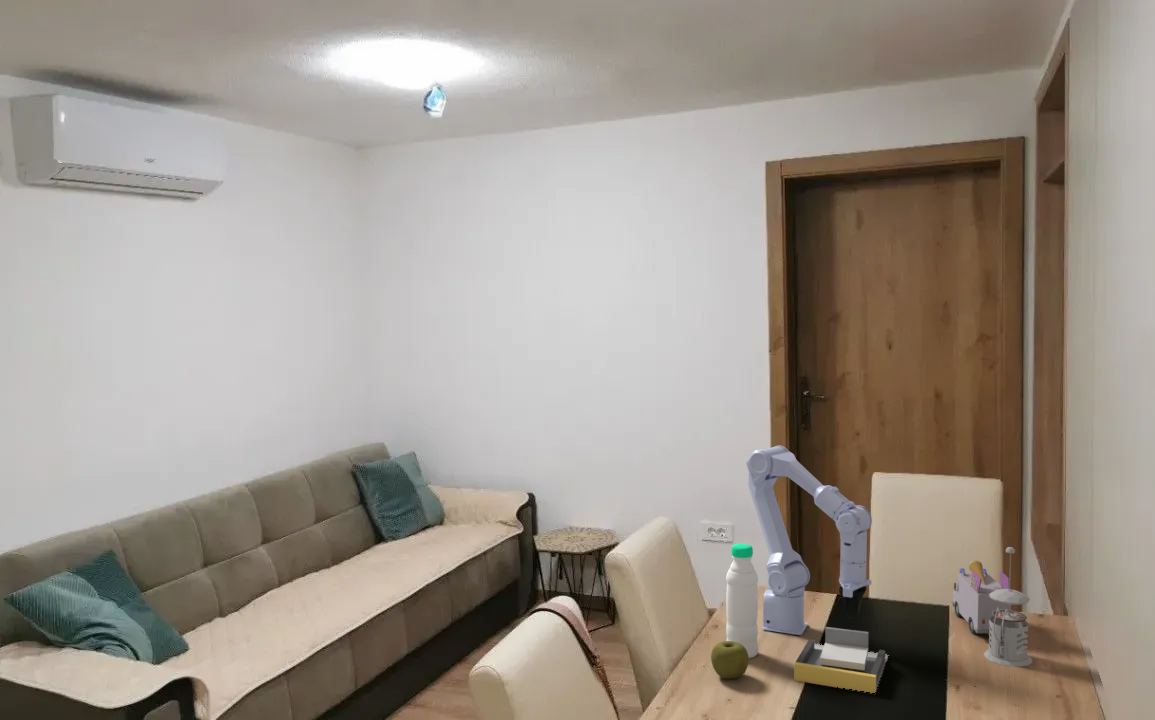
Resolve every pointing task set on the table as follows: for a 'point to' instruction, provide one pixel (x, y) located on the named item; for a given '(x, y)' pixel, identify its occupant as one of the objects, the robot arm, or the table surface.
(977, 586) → the toy vehicle
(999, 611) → the french press
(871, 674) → the dock
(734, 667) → the apple
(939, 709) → the table surface
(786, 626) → the robot arm
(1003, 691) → the table surface
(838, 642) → the grey angled piece
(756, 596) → the water bottle
